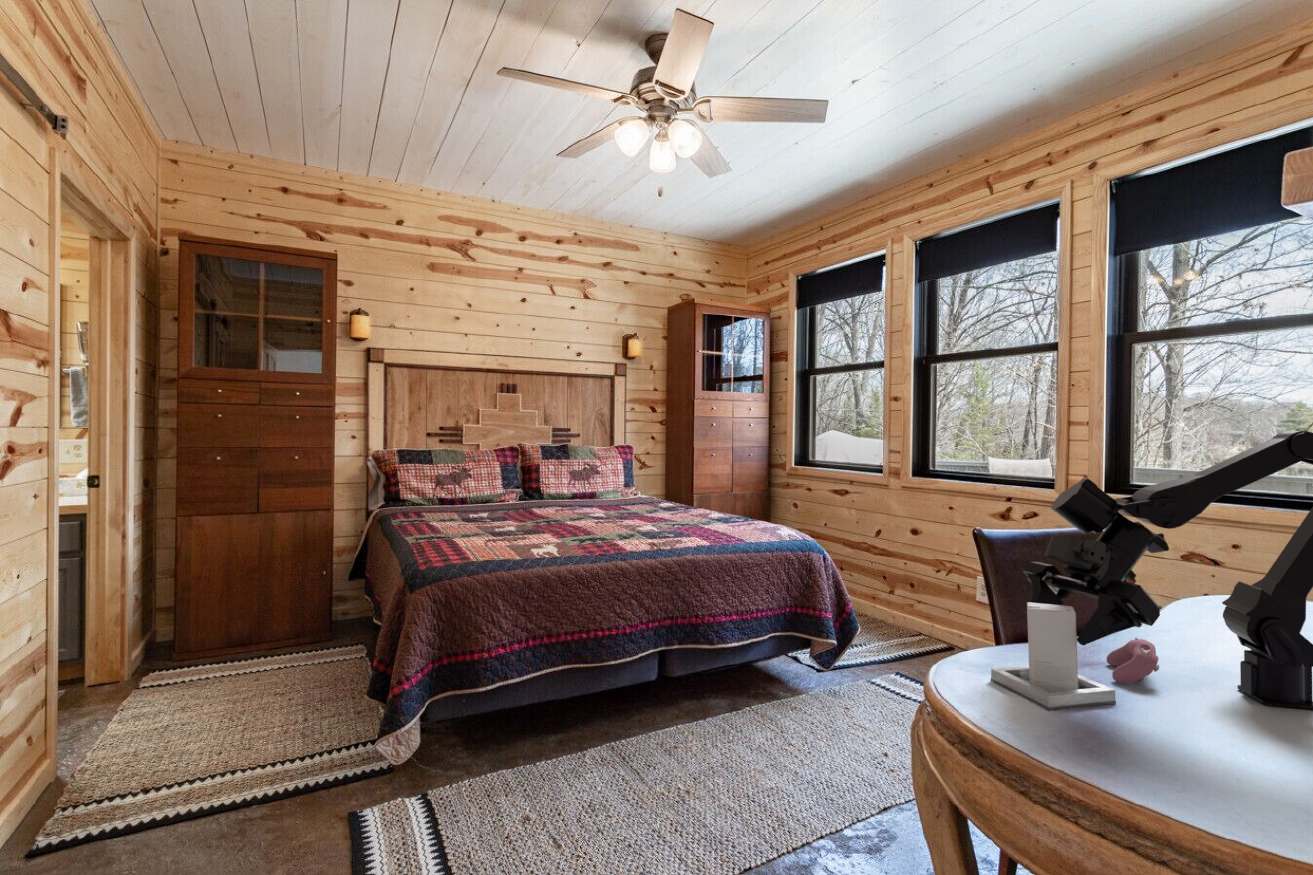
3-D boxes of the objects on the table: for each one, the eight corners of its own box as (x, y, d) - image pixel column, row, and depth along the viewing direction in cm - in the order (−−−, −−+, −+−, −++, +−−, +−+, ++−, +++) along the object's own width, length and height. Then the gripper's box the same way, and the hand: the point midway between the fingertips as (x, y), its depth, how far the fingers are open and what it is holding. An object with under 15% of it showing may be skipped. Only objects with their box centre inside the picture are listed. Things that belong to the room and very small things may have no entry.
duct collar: (1052, 675, 100) (1051, 663, 100) (1116, 703, 89) (1115, 689, 89) (990, 680, 97) (990, 668, 97) (1048, 710, 87) (1048, 696, 87)
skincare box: (1075, 687, 94) (1074, 605, 94) (1079, 698, 90) (1078, 612, 90) (1027, 680, 96) (1026, 600, 97) (1028, 690, 92) (1027, 607, 93)
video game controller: (1143, 698, 95) (1169, 659, 93) (1109, 679, 97) (1134, 641, 95) (1133, 677, 103) (1158, 641, 102) (1103, 660, 105) (1126, 624, 104)
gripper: (1032, 511, 103) (973, 583, 101) (1141, 525, 85) (1073, 613, 83) (1073, 557, 105) (1017, 629, 103) (1189, 581, 87) (1124, 669, 84)
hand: (1052, 633), depth 93 cm, fingers open, 9 cm apart
